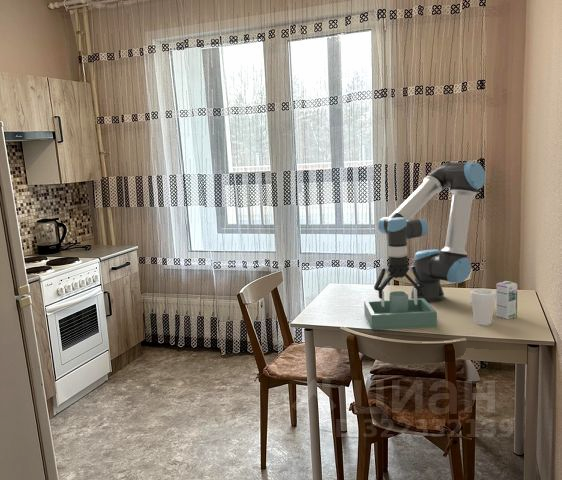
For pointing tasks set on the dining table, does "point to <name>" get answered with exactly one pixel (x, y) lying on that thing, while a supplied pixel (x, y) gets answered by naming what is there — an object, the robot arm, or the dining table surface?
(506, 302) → the syrup box
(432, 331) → the dining table surface
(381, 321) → the tray
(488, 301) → the foam cup
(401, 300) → the cup
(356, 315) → the dining table surface
